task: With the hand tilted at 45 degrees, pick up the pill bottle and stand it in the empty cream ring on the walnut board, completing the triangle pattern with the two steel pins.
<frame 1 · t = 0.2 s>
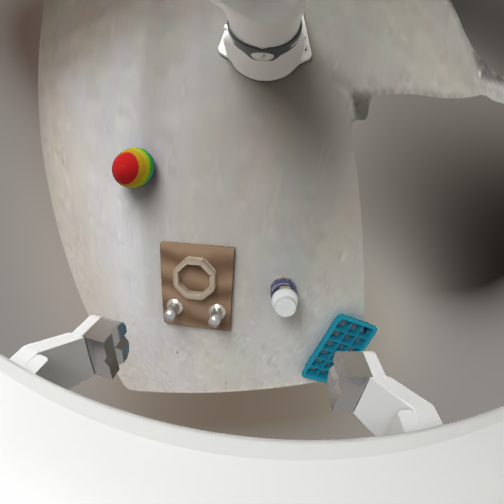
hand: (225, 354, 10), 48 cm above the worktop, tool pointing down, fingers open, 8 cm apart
pill bottle: (282, 286, 61), on the worktop
steel pins: (193, 314, 60), point 4 cm above the worktop
ice cube tray: (336, 346, 66), on the worktop
layout board: (196, 286, 62), on the worktop
decorative egg: (142, 167, 54), on the worktop
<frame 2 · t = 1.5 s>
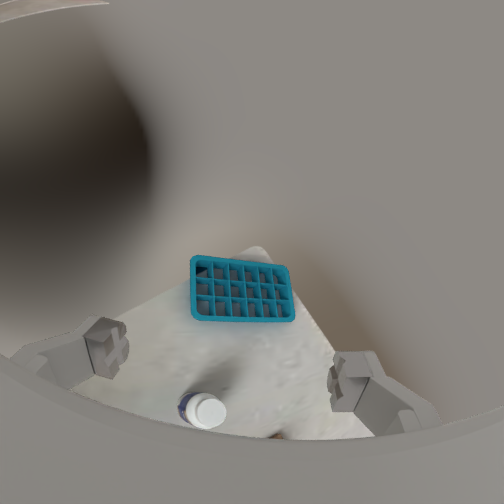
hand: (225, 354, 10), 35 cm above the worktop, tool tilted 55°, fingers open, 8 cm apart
pill bottle: (192, 407, 39), on the worktop
ice cube tray: (238, 295, 53), on the worktop
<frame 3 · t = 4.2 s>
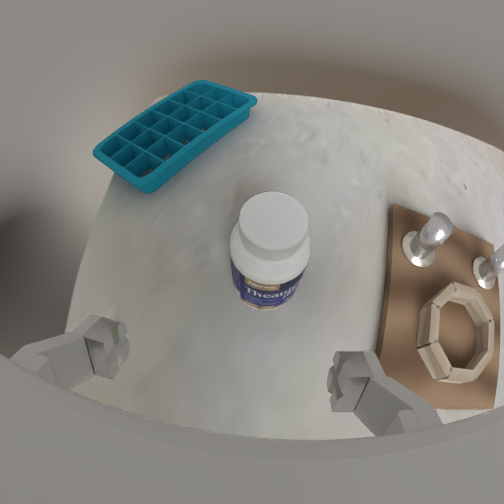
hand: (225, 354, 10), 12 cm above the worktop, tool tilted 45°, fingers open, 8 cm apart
pill bottle: (264, 283, 24), on the worktop
steel pins: (466, 252, 22), point 4 cm above the worktop
ice cube tray: (179, 138, 34), on the worktop
layout board: (447, 310, 23), on the worktop
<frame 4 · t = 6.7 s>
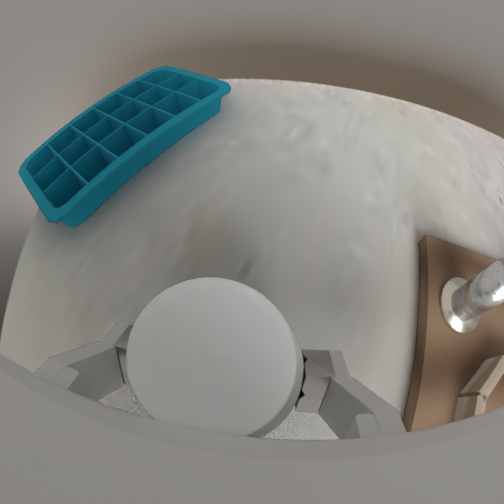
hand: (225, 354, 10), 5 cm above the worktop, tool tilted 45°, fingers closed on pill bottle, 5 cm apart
pill bottle: (231, 376, 15), on the worktop, touching gripper
ice cube tray: (125, 144, 24), on the worktop
layout board: (487, 381, 13), on the worktop
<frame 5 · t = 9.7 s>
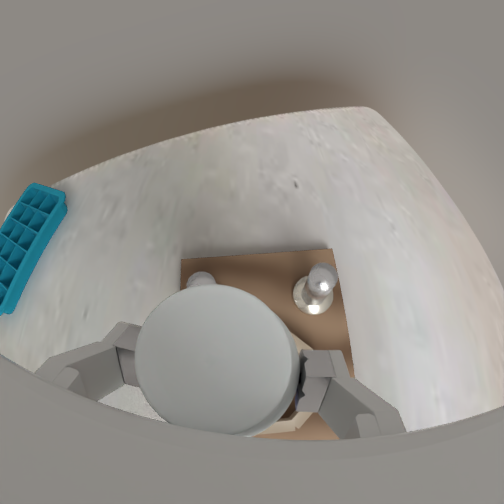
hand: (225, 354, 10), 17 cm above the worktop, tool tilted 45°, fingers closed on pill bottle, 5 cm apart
pill bottle: (231, 374, 15), point 10 cm above the worktop, touching gripper
steel pins: (262, 291, 25), point 4 cm above the worktop
ice cube tray: (24, 251, 32), on the worktop
layout board: (266, 352, 26), on the worktop
when the fingers open (8 cm above the worktop, at t = 12.7 s): pill bottle stays where it is, resting on layout board.
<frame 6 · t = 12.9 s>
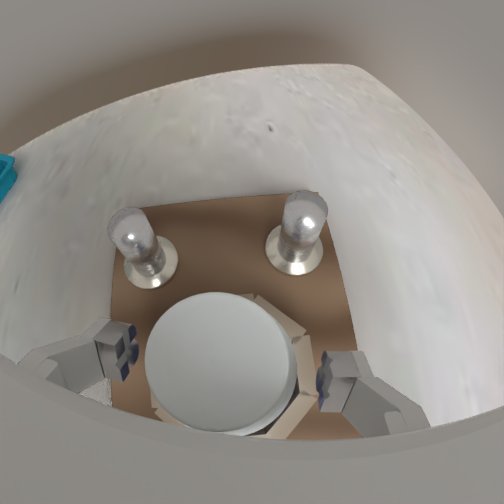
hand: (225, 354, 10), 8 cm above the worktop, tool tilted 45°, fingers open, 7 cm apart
pill bottle: (232, 375, 16), point 1 cm above the worktop, touching layout board
steel pins: (218, 238, 17), point 4 cm above the worktop
layout board: (228, 332, 18), on the worktop
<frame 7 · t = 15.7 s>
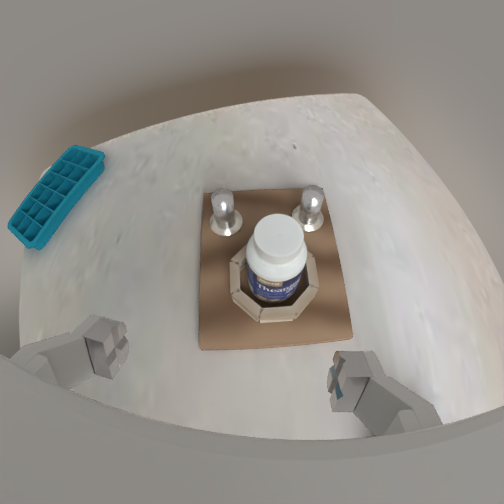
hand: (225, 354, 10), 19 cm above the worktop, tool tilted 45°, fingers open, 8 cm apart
pill bottle: (272, 281, 31), point 1 cm above the worktop, touching layout board
steel pins: (267, 208, 32), point 4 cm above the worktop
ice cube tray: (60, 200, 40), on the worktop
layout board: (270, 261, 33), on the worktop
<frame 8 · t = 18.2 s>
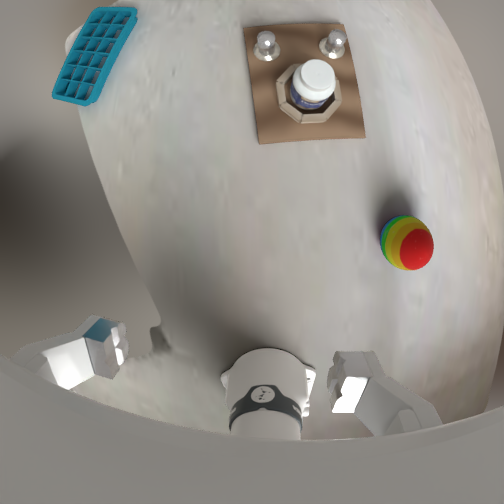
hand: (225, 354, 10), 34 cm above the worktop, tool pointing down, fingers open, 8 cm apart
pill bottle: (307, 94, 36), point 1 cm above the worktop, touching layout board
steel pins: (301, 42, 31), point 4 cm above the worktop
ice cube tray: (98, 56, 36), on the worktop
layout board: (304, 78, 36), on the worktop
decorative egg: (395, 235, 42), on the worktop
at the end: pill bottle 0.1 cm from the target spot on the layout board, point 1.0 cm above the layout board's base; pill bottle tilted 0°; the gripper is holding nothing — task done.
